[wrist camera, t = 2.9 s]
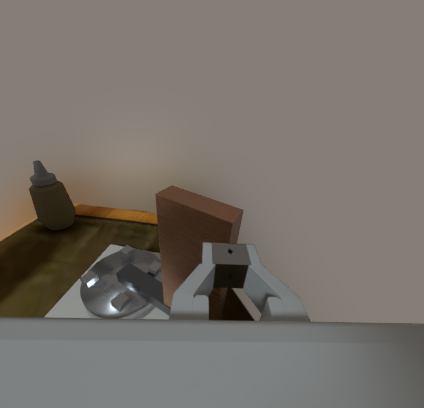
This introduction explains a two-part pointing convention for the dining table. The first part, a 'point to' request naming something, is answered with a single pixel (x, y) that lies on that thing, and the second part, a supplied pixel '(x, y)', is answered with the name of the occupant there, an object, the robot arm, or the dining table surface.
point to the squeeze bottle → (51, 199)
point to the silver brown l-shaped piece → (170, 259)
